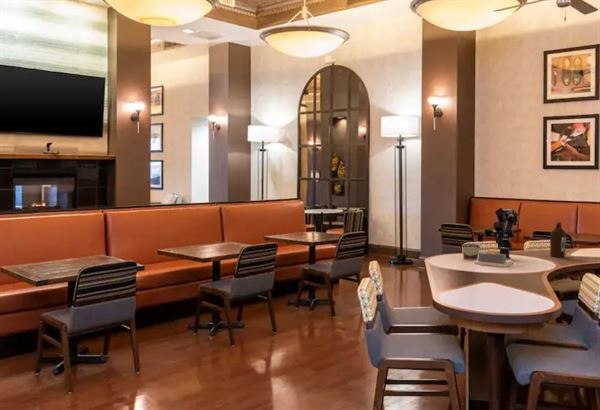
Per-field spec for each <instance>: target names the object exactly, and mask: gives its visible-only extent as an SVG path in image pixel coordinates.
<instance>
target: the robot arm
mask: <svg viewBox="0 0 600 410" xmlns="http://www.w3.org/2000/svg"><path fill="white" fill-rule="evenodd" d="M494 212H495V216H496V220H497V221H493V226H492V227H493V229H494V230H492V228H485V229H484V231H483V232H484V234H485V236H486V237H490V238H491V237H493V238H494V239H495V243H496V244H497V249H498V250H499V254H506V260H508V259H512V257H511V256H510V251H512V250H513V244H512V242H511V238H515V232H514V230H513V228H514V226H516V225H517V224H518V223H519V220H520V218H519V213H517V212H516V210H515V209H514V208H507V209H503V208H502V207H500V208H499V209H496V210H495V211H494Z"/></svg>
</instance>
